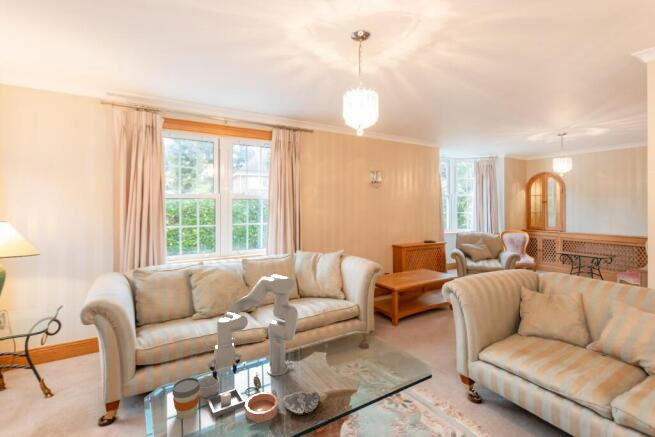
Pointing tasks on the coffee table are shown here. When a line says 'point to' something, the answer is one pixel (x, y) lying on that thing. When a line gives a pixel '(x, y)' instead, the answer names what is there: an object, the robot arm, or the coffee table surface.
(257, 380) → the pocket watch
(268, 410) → the bowl
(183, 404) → the reusable coffee cup
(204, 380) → the teacup
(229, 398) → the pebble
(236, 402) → the tray
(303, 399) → the brain slice
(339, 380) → the coffee table surface
